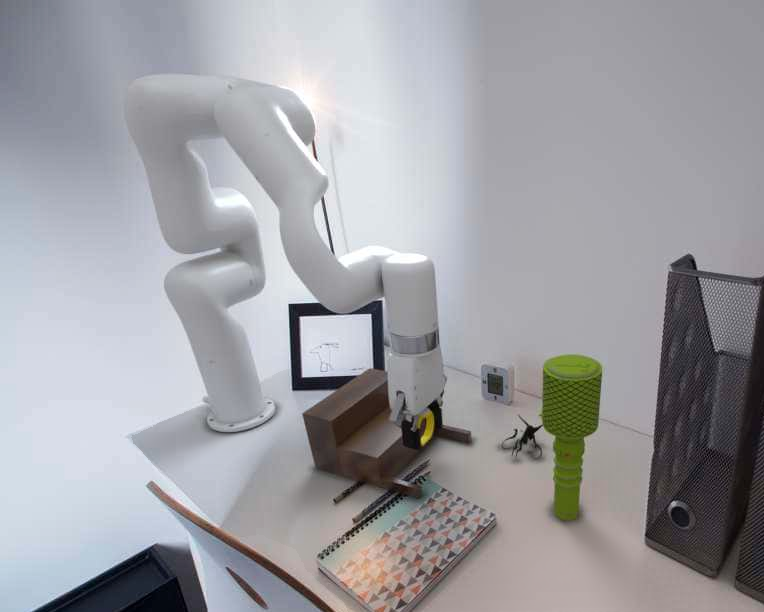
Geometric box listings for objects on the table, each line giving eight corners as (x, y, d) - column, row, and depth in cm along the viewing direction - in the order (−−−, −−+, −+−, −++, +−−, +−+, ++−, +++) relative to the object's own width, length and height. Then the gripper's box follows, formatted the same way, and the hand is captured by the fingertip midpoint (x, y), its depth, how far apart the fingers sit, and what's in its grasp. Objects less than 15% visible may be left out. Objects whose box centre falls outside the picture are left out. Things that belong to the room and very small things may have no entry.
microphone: (589, 496, 83) (599, 349, 70) (593, 530, 76) (606, 375, 64) (537, 495, 83) (539, 349, 71) (537, 529, 77) (539, 375, 64)
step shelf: (315, 468, 91) (301, 413, 86) (377, 417, 105) (369, 368, 100) (419, 499, 83) (411, 441, 78) (471, 440, 97) (468, 387, 92)
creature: (534, 470, 91) (554, 439, 96) (531, 448, 87) (552, 418, 92) (495, 457, 94) (516, 428, 99) (491, 436, 91) (513, 407, 96)
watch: (423, 452, 87) (420, 421, 84) (408, 449, 88) (405, 418, 85) (439, 433, 92) (436, 403, 89) (424, 430, 93) (421, 401, 90)
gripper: (423, 316, 88) (431, 408, 97) (358, 356, 75) (374, 459, 84) (463, 322, 86) (467, 417, 95) (403, 366, 72) (414, 471, 81)
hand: (423, 436), depth 89 cm, fingers closed on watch, 6 cm apart
